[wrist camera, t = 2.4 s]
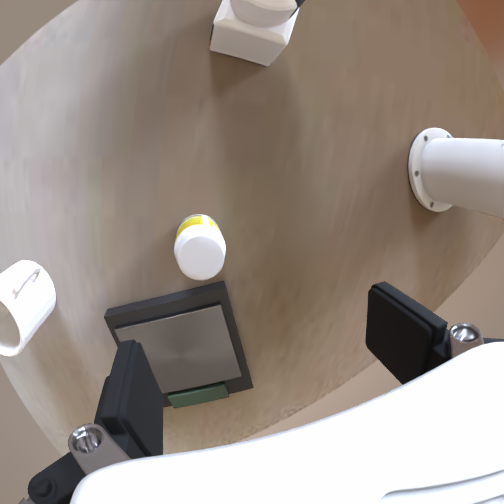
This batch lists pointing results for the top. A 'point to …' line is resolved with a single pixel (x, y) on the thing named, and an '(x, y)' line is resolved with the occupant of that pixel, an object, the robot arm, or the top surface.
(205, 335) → the scale pan
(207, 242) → the supplement bottle
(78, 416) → the top surface
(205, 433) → the top surface
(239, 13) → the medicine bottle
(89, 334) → the top surface
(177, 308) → the scale
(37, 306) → the mug
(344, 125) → the top surface
